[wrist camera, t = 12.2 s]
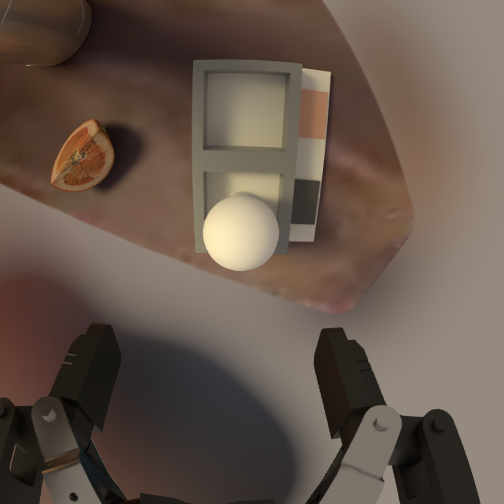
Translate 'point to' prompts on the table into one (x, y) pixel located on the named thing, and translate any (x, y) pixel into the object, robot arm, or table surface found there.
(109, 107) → the table surface
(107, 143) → the fruit slice
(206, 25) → the table surface
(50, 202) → the table surface
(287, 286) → the table surface
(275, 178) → the socket board
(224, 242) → the lightbulb
